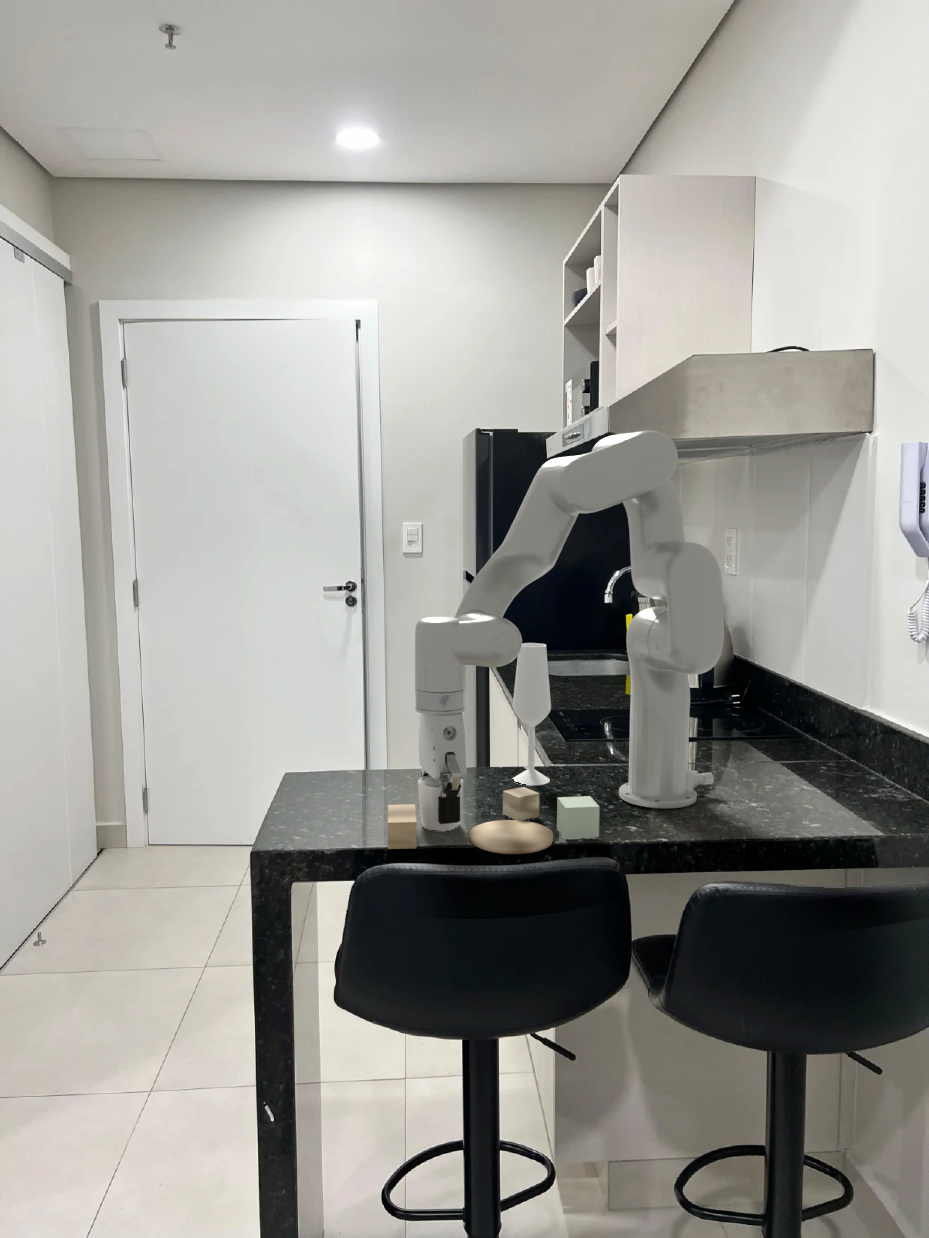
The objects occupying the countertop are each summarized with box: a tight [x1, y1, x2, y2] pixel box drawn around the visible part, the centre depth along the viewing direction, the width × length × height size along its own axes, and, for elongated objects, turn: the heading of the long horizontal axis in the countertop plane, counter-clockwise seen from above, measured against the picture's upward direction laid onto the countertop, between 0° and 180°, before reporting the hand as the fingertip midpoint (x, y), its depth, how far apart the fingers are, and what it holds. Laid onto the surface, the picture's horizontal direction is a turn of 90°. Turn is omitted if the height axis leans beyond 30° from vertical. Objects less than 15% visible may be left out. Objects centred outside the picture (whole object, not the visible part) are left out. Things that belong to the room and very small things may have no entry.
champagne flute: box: [512, 642, 552, 786], centre depth 164 cm, size 7×7×24 cm
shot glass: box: [417, 774, 464, 831], centre depth 142 cm, size 7×7×7 cm
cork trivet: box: [469, 819, 554, 855], centre depth 136 cm, size 12×12×1 cm
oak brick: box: [387, 803, 418, 850], centre depth 136 cm, size 8×4×4 cm, turn 4°
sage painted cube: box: [556, 795, 600, 840], centre depth 138 cm, size 5×5×5 cm
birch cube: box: [502, 786, 540, 821], centre depth 146 cm, size 4×4×4 cm
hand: (439, 812), depth 142 cm, fingers open, 9 cm apart
